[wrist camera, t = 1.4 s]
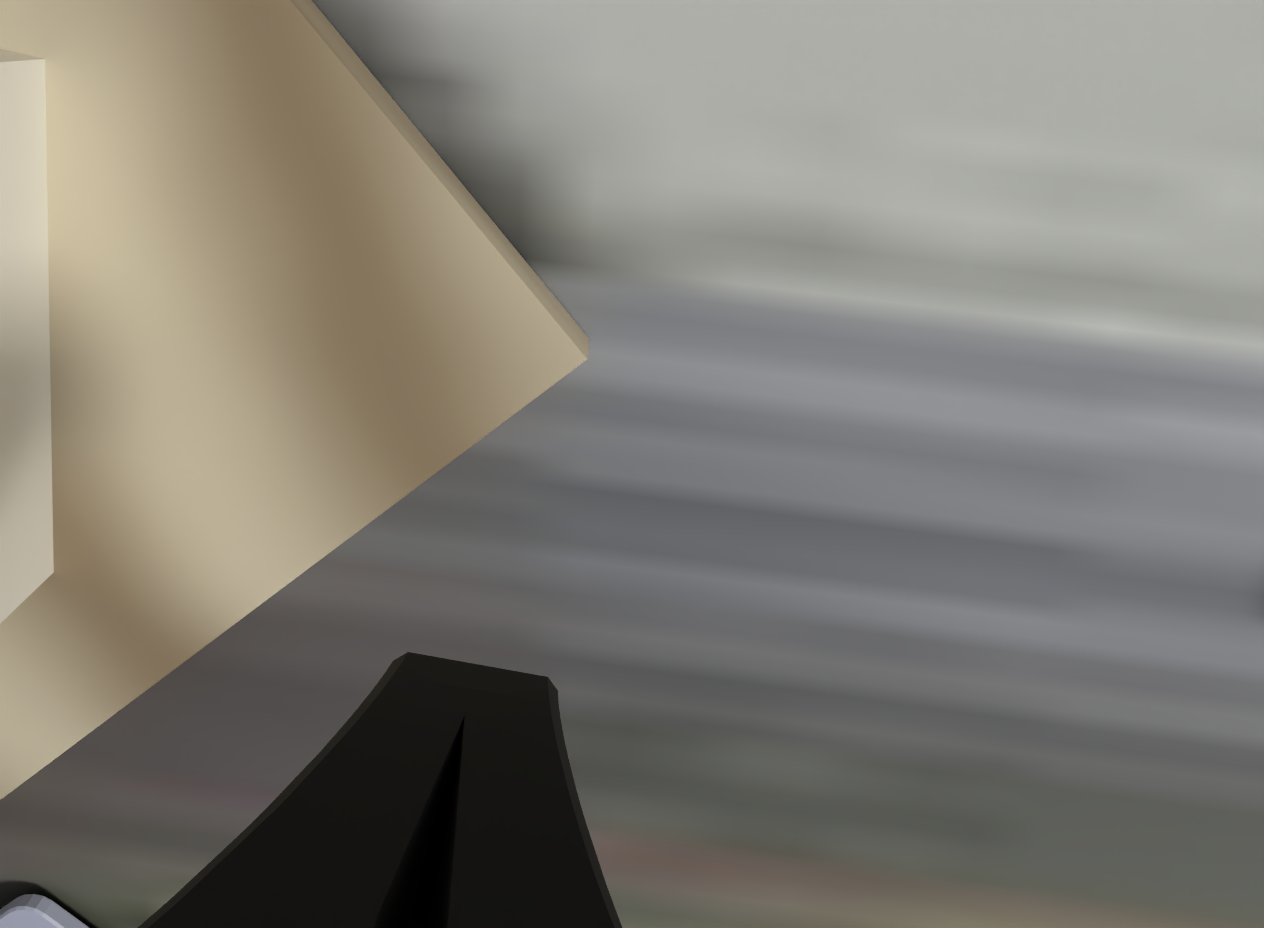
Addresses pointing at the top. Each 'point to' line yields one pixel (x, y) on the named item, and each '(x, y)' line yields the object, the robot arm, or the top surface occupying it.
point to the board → (238, 333)
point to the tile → (24, 334)
